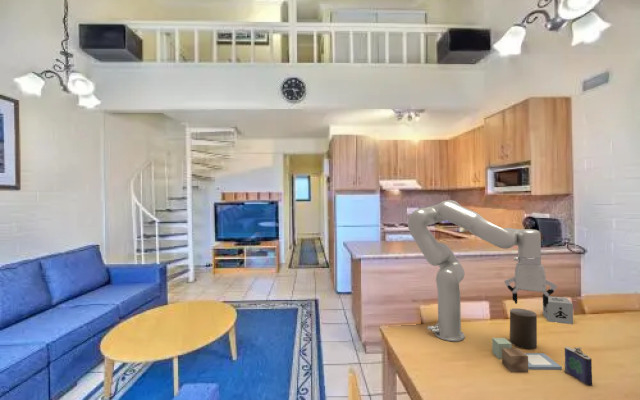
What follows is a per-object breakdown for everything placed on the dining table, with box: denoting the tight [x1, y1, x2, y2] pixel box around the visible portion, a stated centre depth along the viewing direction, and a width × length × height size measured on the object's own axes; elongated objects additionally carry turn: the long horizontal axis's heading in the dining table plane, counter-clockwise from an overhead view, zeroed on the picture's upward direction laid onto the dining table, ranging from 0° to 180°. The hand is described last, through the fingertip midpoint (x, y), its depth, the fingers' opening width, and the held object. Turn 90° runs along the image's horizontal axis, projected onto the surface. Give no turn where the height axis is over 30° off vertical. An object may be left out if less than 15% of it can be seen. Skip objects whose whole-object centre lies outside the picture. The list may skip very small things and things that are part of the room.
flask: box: [564, 346, 593, 387], centre depth 110 cm, size 9×3×11 cm, turn 8°
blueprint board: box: [524, 352, 563, 371], centre depth 121 cm, size 12×10×1 cm
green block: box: [491, 337, 513, 360], centre depth 126 cm, size 5×5×6 cm
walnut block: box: [501, 347, 529, 374], centre depth 117 cm, size 6×6×6 cm
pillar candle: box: [509, 308, 538, 350], centre depth 135 cm, size 10×10×15 cm
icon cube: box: [542, 295, 574, 325], centre depth 161 cm, size 10×10×10 cm
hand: (530, 304), depth 126 cm, fingers open, 9 cm apart
